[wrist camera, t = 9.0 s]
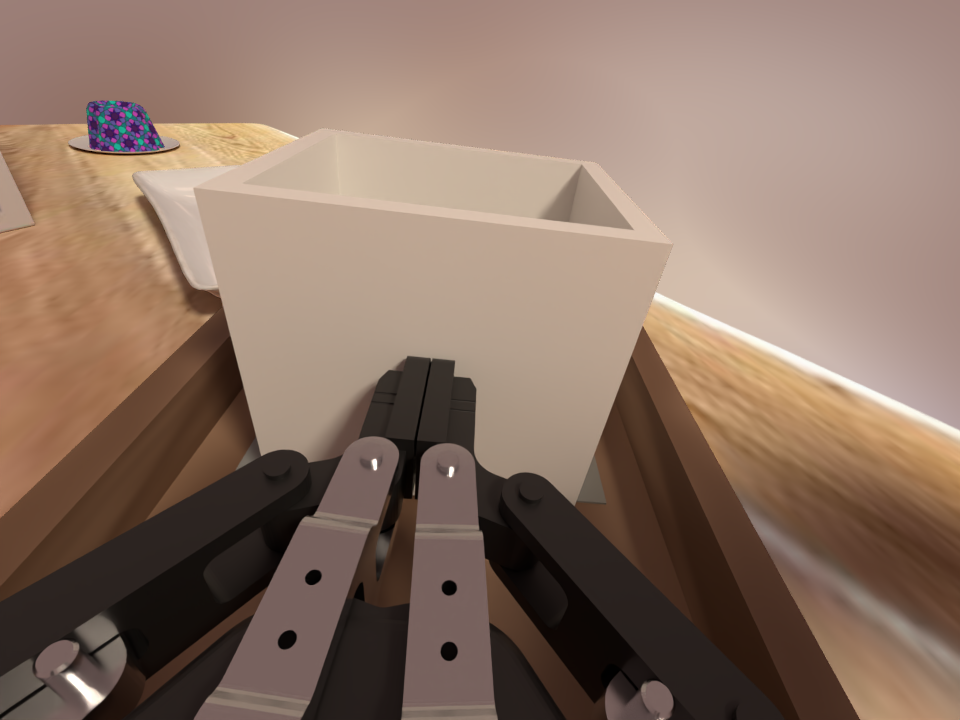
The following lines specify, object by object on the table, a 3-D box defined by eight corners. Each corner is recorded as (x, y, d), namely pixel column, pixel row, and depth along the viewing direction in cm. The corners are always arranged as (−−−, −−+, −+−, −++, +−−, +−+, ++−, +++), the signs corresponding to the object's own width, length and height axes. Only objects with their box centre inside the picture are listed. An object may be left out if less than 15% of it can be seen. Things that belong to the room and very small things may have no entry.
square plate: (534, 267, 41) (542, 226, 39) (207, 343, 26) (190, 284, 24) (392, 188, 58) (392, 156, 56) (141, 207, 43) (127, 164, 40)
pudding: (183, 159, 58) (171, 113, 55) (64, 159, 52) (44, 108, 49) (179, 140, 66) (169, 99, 63) (76, 138, 60) (59, 93, 57)
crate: (547, 363, 26) (596, 162, 19) (573, 509, 18) (673, 243, 11) (340, 342, 25) (322, 128, 19) (268, 482, 17) (193, 187, 11)
